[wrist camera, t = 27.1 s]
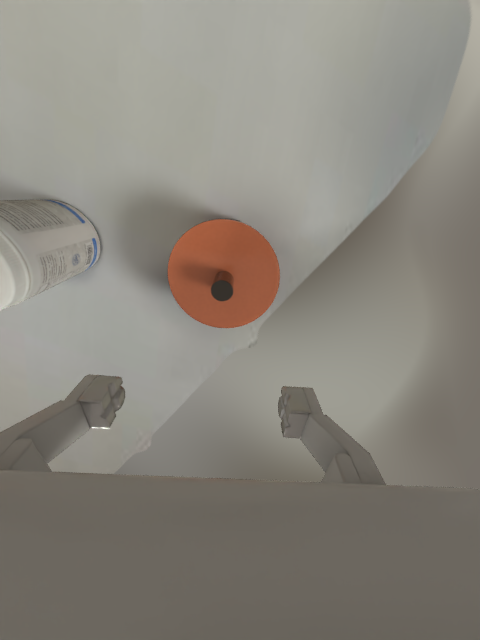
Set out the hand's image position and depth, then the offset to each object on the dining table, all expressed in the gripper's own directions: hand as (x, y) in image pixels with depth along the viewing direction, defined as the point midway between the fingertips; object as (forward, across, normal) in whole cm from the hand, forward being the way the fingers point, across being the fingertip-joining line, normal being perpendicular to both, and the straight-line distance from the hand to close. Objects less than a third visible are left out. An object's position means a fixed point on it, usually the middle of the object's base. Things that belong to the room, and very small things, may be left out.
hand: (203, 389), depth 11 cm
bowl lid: (+18, 0, 0) cm, 18 cm away
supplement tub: (+25, +23, -2) cm, 34 cm away
